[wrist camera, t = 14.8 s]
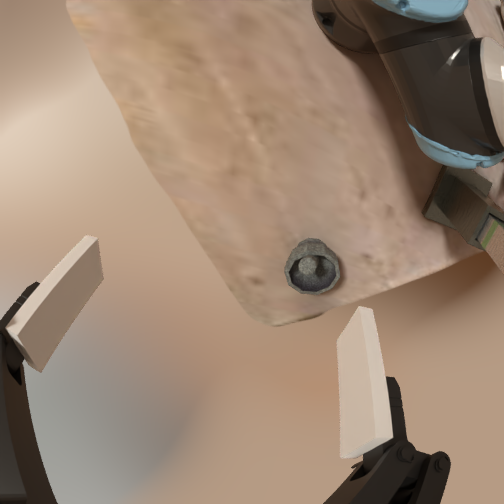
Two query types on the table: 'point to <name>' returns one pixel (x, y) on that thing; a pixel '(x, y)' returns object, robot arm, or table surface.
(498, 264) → the steel post
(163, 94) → the table surface
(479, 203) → the sleeve
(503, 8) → the teacup
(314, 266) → the mortar and pestle
